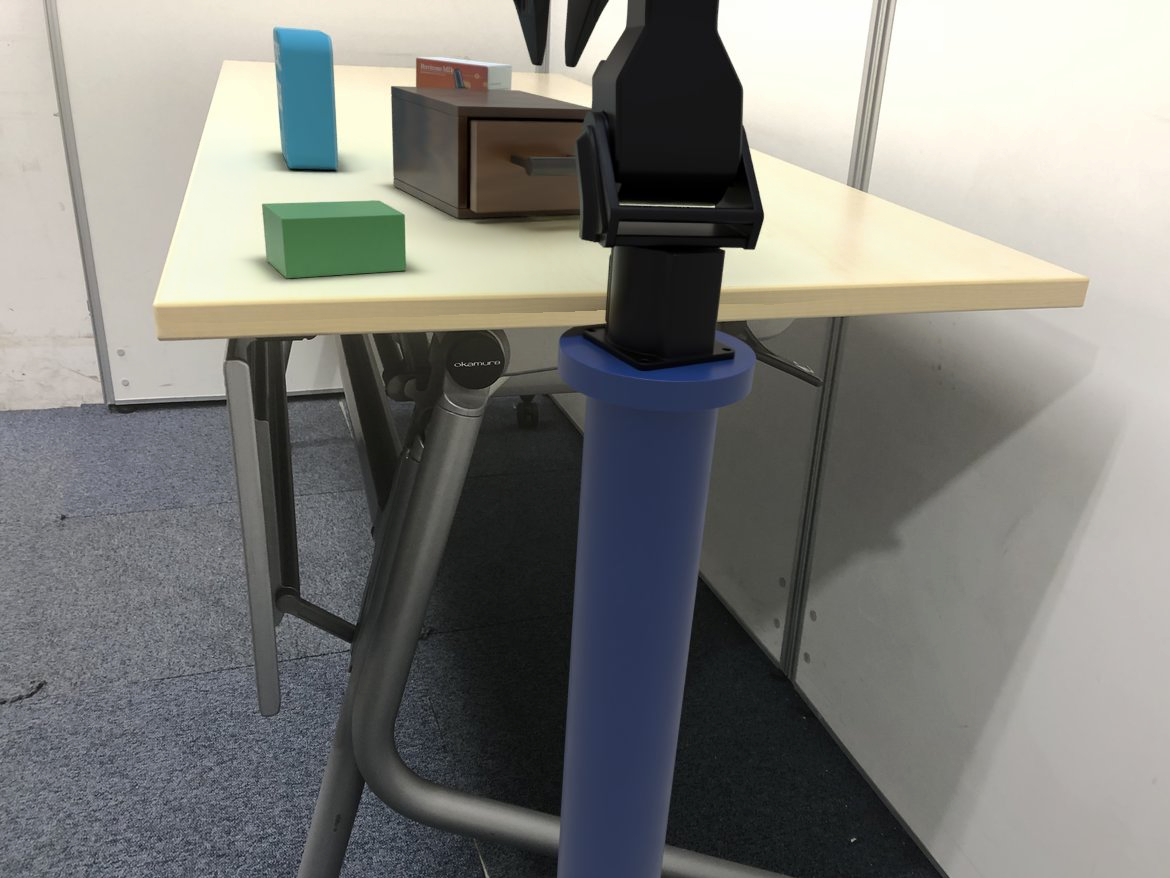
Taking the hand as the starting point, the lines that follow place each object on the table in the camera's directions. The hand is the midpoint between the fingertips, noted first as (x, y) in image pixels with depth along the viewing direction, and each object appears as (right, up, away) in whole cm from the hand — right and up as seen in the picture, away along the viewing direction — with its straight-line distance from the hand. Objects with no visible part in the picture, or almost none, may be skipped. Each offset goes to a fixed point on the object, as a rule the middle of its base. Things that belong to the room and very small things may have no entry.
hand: (553, 66), depth 75 cm
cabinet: (-7, -6, +13) cm, 16 cm away
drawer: (-4, -8, +9) cm, 13 cm away
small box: (-12, 0, +26) cm, 29 cm away
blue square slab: (-27, 0, +24) cm, 36 cm away
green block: (-13, -18, -12) cm, 25 cm away
